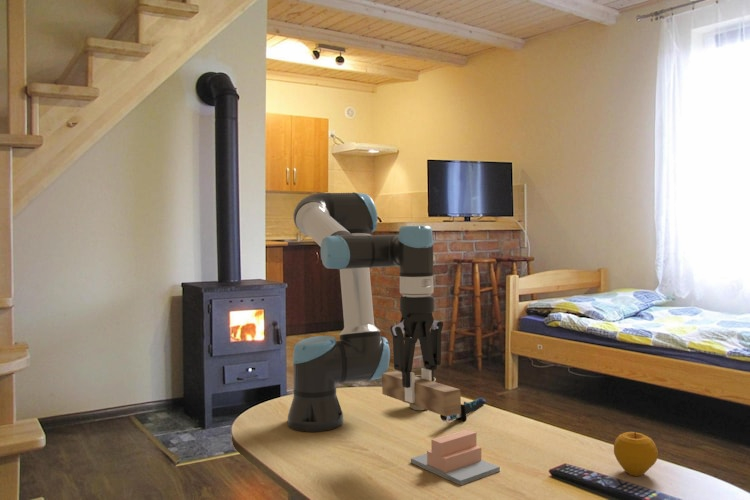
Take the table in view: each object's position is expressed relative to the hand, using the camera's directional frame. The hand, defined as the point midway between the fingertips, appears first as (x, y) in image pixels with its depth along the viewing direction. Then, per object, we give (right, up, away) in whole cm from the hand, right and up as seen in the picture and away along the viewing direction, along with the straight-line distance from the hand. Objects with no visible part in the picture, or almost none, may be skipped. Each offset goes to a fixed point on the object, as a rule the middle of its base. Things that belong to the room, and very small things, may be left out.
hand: (418, 399), depth 140 cm
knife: (+16, -14, +37) cm, 42 cm away
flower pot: (+4, -14, +46) cm, 48 cm away
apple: (+47, -15, -4) cm, 49 cm away
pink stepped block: (+8, -15, +1) cm, 17 cm away
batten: (0, -1, 0) cm, 1 cm away
